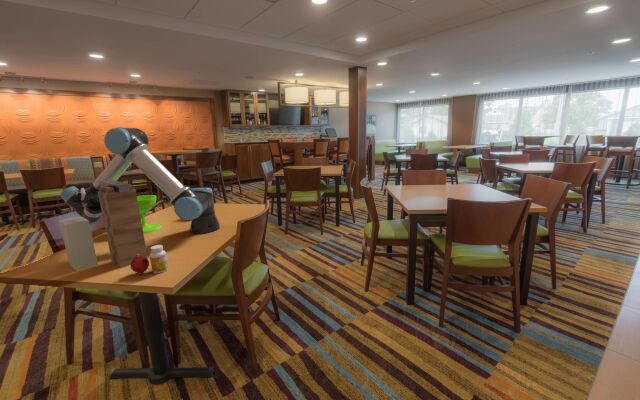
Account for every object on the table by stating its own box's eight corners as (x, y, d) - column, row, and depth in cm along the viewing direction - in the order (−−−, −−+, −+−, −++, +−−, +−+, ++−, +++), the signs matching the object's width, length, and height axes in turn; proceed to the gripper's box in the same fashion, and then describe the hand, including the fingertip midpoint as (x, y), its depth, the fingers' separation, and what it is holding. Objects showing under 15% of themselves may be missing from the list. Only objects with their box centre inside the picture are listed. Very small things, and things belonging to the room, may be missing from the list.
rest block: (69, 264, 120) (59, 220, 116) (90, 258, 126) (80, 216, 121) (76, 271, 114) (65, 224, 110) (97, 264, 119) (88, 220, 115)
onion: (137, 270, 113) (134, 251, 111) (153, 269, 113) (149, 250, 112) (129, 277, 107) (125, 257, 106) (145, 276, 108) (142, 256, 106)
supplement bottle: (149, 271, 112) (145, 247, 110) (163, 266, 116) (159, 243, 114) (157, 274, 109) (153, 250, 107) (171, 269, 113) (167, 245, 111)
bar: (100, 187, 123) (98, 180, 122) (109, 186, 126) (108, 179, 125) (119, 193, 110) (118, 185, 109) (130, 191, 112) (128, 183, 112)
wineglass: (138, 235, 154) (132, 202, 150) (122, 231, 161) (116, 199, 157) (167, 227, 167) (162, 196, 163) (150, 223, 175) (145, 194, 171)
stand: (111, 261, 122) (96, 186, 115) (138, 253, 130) (125, 182, 123) (120, 267, 116) (105, 188, 109) (147, 259, 124) (135, 184, 117)
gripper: (127, 208, 147) (138, 191, 133) (63, 220, 128) (68, 201, 114) (122, 195, 148) (132, 176, 134) (58, 205, 129) (62, 184, 115)
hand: (103, 188), depth 124 cm, fingers open, 13 cm apart
